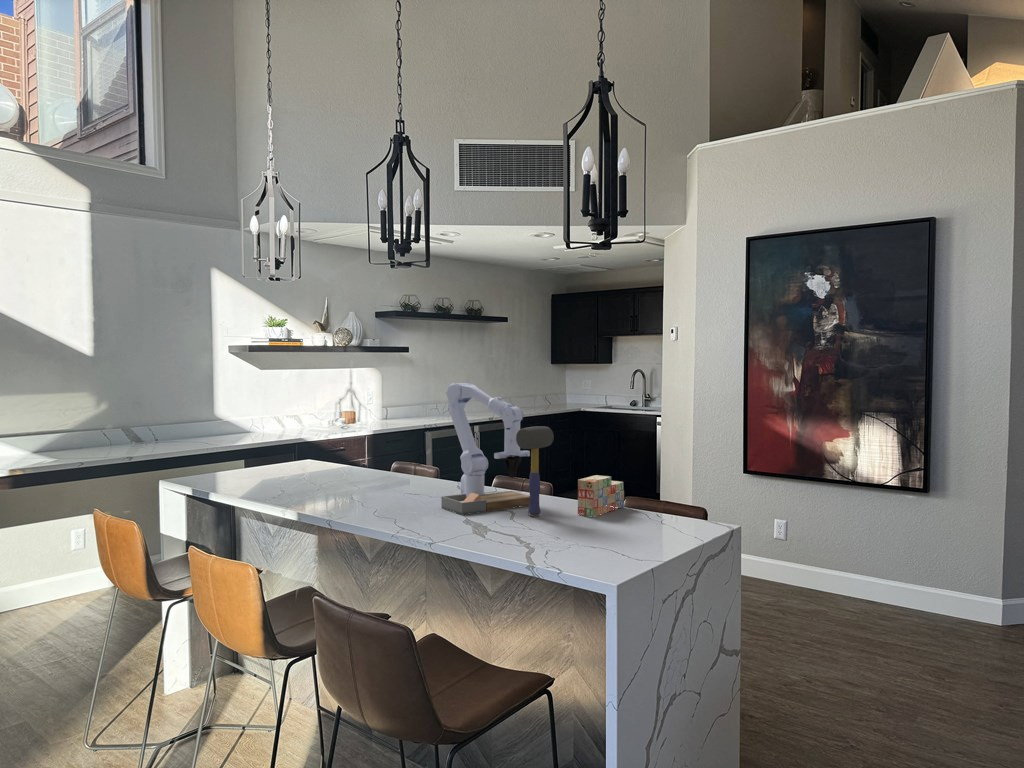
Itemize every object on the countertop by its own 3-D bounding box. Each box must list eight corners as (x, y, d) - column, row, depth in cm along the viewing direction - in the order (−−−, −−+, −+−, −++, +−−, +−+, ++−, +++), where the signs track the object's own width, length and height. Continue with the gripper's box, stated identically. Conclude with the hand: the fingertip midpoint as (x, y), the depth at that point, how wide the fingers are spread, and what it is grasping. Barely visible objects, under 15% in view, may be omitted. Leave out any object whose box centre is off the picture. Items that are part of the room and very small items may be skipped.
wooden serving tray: (465, 504, 254) (465, 496, 254) (511, 499, 266) (511, 491, 266) (487, 511, 243) (487, 502, 243) (533, 505, 254) (533, 496, 254)
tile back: (465, 506, 249) (461, 502, 248) (474, 496, 251) (471, 492, 250) (472, 508, 245) (469, 504, 244) (482, 498, 247) (479, 494, 246)
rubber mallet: (530, 520, 229) (531, 428, 228) (513, 517, 234) (514, 426, 233) (554, 515, 238) (555, 425, 237) (538, 511, 243) (538, 424, 242)
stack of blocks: (608, 505, 255) (609, 471, 255) (624, 507, 252) (624, 473, 251) (577, 515, 238) (577, 479, 238) (593, 518, 235) (593, 480, 234)
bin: (441, 507, 249) (441, 496, 249) (465, 504, 254) (465, 493, 254) (462, 514, 237) (462, 502, 237) (486, 511, 243) (486, 499, 243)
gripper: (501, 442, 251) (501, 480, 251) (534, 439, 259) (534, 476, 259) (491, 440, 256) (490, 477, 257) (523, 438, 265) (523, 474, 265)
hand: (512, 477), depth 258 cm, fingers closed
